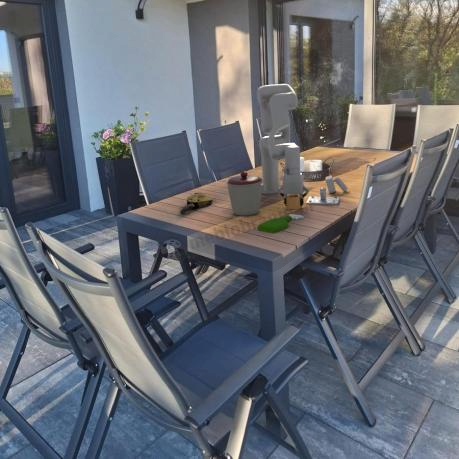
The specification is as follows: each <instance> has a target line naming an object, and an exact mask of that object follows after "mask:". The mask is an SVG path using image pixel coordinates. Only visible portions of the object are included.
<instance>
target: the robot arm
mask: <svg viewBox="0 0 459 459" xmlns="http://www.w3.org/2000/svg"><path fill="white" fill-rule="evenodd" d="M256 99H257V102H258V104H259V107H260V127H261V132H262V133H263V134H265V135H266V136H263V137H261V138H260V139H259V141H258V148H259V150H260V159H261V160H260V161H261V174H262V175H261V176H262V179H263V182H262V187H261V194H265V195H272V194H273V195H274V194H279V195H280V196H281V197H282V199H283V205H285V207H286V196H287V195H290V194H299V195H300V197H301V198H300V206H301V208H302V206H303V205H304V204H305V203H304V202H305V201H304V198H305V197H307V195H308V194H309V192H310V189H309V188H308V187H307V186H305V184H304V178H303V173H302V172H301V147H300V146H299V145H297V143H295V142H291V120H290V114H289V110H295V109H297V108H298V106H299V101H298V100H299V99H298V95H297V94H296V92H295V90H294V89H293V88H292V87H291V86H290V85H289V84H288V83H280V84H268V85H267V84H265V85H263V86H262V85H261V86H260V87H258V88H257V91H256ZM267 135H268V136H267ZM279 160H284V168H281V171H282V172H284V173H283V175H282V186H281V187H280V165H279ZM304 191H305V192H304Z"/></svg>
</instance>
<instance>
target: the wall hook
mask: <svg viewBox="0 0 459 459" xmlns="http://www.w3.org/2000/svg"><path fill="white" fill-rule="evenodd" d="M325 183H326V187H327V190H328V193H329V194H333V193H336V186H335V183H336V184H337V185H338V186H339V188H340V189H341V191H342V192H344V193H345V192H346V191H347V190H349V188H348V186H347V185H346V184H345V182H343V180H342V179H341V178H340V177H339V176H335V178H334V179H333V175H328V176H326V177H325Z"/></svg>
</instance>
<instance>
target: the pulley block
mask: <svg viewBox="0 0 459 459" xmlns="http://www.w3.org/2000/svg"><path fill="white" fill-rule="evenodd" d="M216 199H217V197H215V198H213V196H212V195H211V194H206V193H201V192H195V193H193V194H190V195H189V196H187V200H186V206H185V207H183V208H182V209H180V210H179V211H180V213H181V214H184V213H187V212H188V211H190V210H192V211H193V210H198V209H202V208H207V207H209V206H211V205H212V204H214V203H213V201H214V200H216Z"/></svg>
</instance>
